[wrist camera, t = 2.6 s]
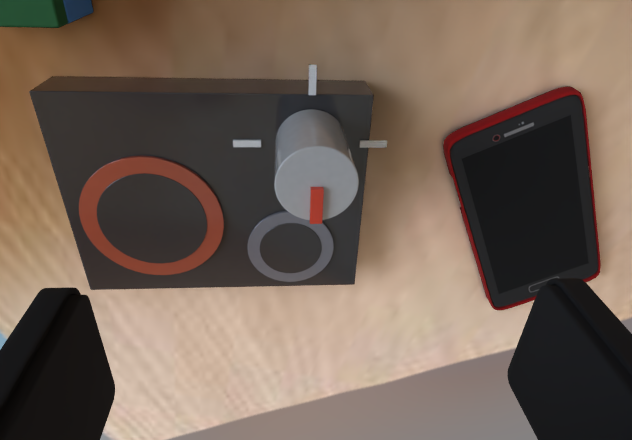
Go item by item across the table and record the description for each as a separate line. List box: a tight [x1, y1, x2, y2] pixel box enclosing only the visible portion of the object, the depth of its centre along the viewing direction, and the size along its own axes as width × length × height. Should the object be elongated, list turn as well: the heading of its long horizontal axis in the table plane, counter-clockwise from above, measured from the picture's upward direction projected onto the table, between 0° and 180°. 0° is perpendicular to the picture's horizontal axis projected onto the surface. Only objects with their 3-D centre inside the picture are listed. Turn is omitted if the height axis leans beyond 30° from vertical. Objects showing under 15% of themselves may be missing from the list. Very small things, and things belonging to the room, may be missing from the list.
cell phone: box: [443, 87, 601, 310], centre depth 29 cm, size 8×15×1 cm, turn 24°
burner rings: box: [79, 156, 334, 282], centre depth 25 cm, size 14×8×1 cm, turn 88°
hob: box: [30, 64, 387, 290], centre depth 25 cm, size 17×13×3 cm
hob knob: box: [274, 109, 359, 224], centre depth 21 cm, size 4×4×5 cm
